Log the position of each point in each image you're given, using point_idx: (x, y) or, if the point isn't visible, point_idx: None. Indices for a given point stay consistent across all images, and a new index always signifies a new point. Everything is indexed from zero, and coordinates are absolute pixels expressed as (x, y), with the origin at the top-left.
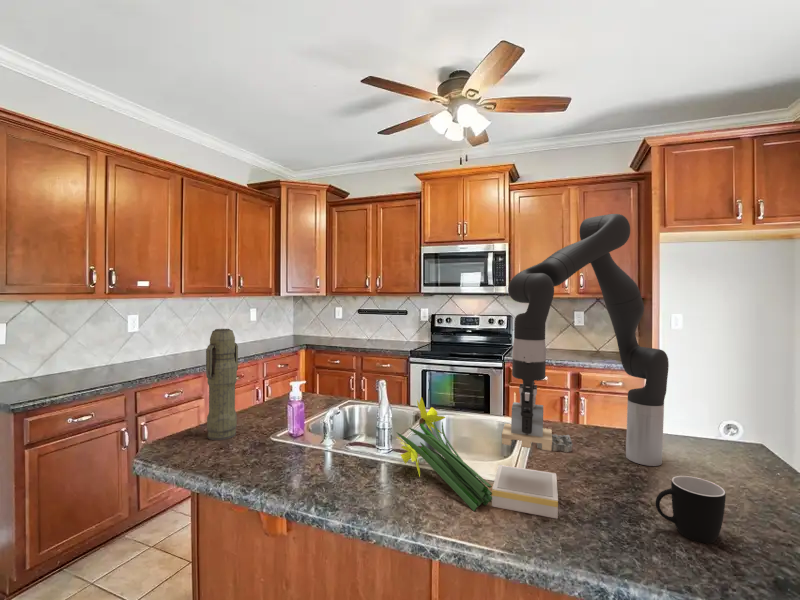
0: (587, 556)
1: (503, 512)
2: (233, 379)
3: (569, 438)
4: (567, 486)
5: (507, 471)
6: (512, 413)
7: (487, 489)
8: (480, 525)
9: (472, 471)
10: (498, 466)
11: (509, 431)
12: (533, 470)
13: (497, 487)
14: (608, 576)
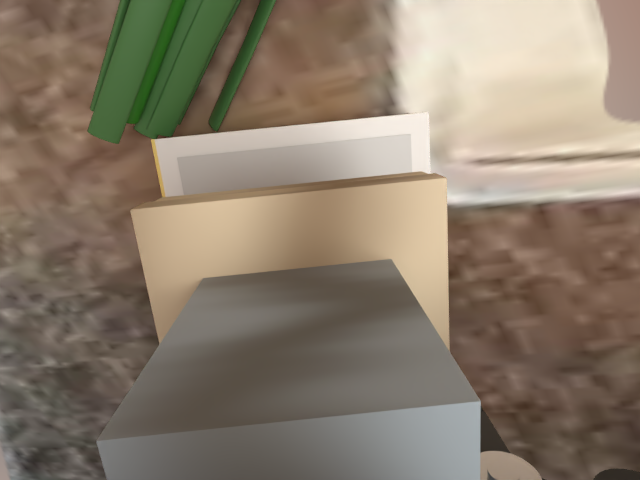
0: (64, 423)
1: (159, 184)
2: None
3: None
4: (459, 357)
5: (360, 169)
6: (140, 389)
7: (132, 121)
8: (27, 128)
9: (125, 24)
10: (405, 115)
11: (235, 257)
12: None
13: (177, 158)
14: (12, 463)
